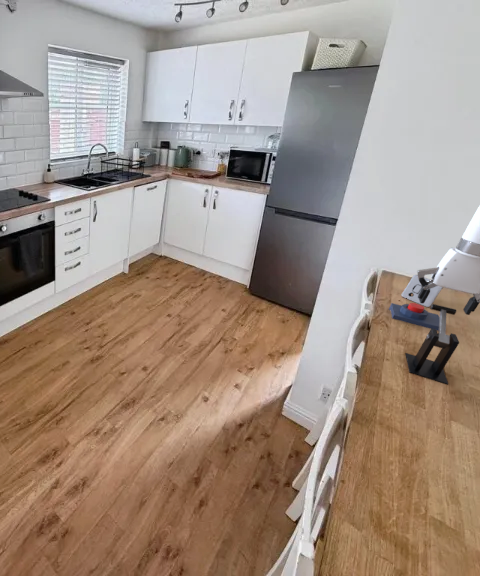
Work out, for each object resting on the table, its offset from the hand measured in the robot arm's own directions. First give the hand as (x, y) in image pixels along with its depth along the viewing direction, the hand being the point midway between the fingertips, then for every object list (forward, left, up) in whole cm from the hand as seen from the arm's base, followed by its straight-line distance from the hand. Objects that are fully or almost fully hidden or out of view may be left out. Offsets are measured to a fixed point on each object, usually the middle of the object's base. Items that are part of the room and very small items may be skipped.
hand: (443, 306), depth 100 cm
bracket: (0, +10, -15) cm, 18 cm away
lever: (0, +5, -4) cm, 6 cm away
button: (0, -22, -12) cm, 25 cm away
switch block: (-1, -22, -15) cm, 27 cm away
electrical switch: (-4, -41, -16) cm, 44 cm away
